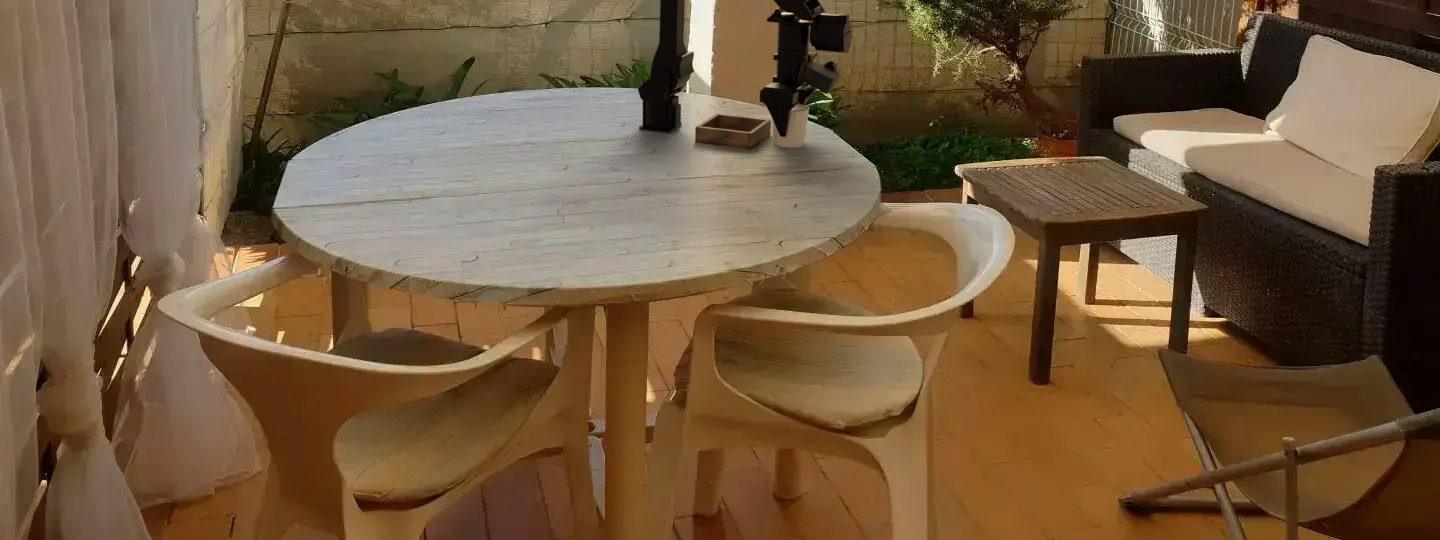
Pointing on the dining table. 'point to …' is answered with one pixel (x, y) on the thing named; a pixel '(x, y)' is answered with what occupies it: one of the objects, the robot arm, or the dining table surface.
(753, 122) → the walnut crate
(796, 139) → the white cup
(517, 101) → the dining table surface
